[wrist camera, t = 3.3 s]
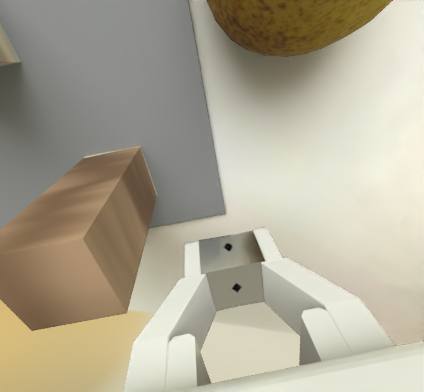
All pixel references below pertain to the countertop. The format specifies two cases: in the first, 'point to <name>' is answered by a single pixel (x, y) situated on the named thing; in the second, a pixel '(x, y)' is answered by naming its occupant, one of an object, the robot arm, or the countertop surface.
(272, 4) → the fruit
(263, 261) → the robot arm
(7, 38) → the ash block
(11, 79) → the mat
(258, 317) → the countertop surface
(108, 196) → the walnut block
